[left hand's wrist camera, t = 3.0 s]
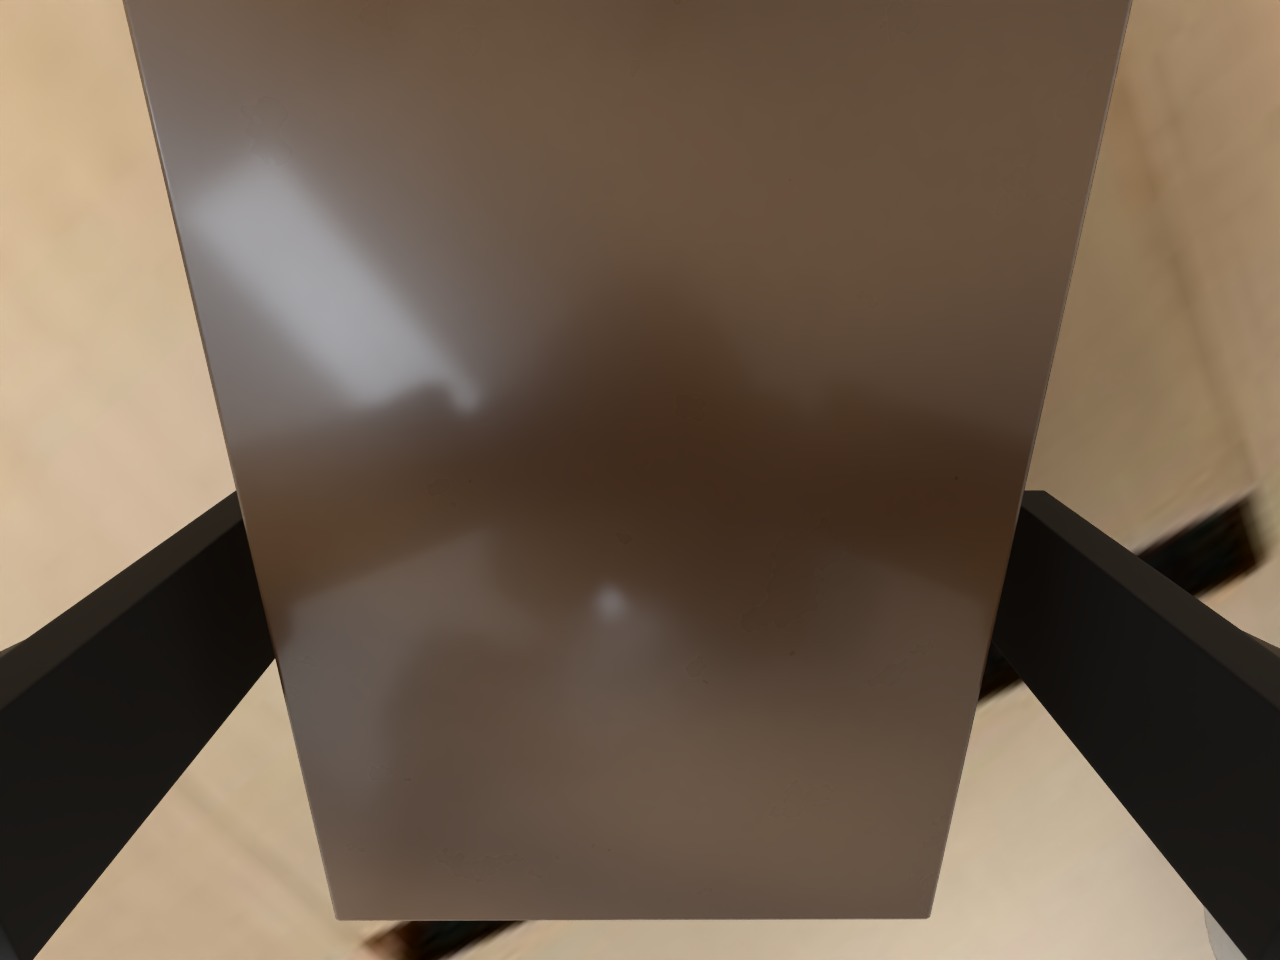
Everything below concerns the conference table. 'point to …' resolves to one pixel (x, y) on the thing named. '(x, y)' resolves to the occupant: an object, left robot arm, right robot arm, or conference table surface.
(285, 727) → the conference table surface
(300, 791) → the conference table surface
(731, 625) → the cabinet
